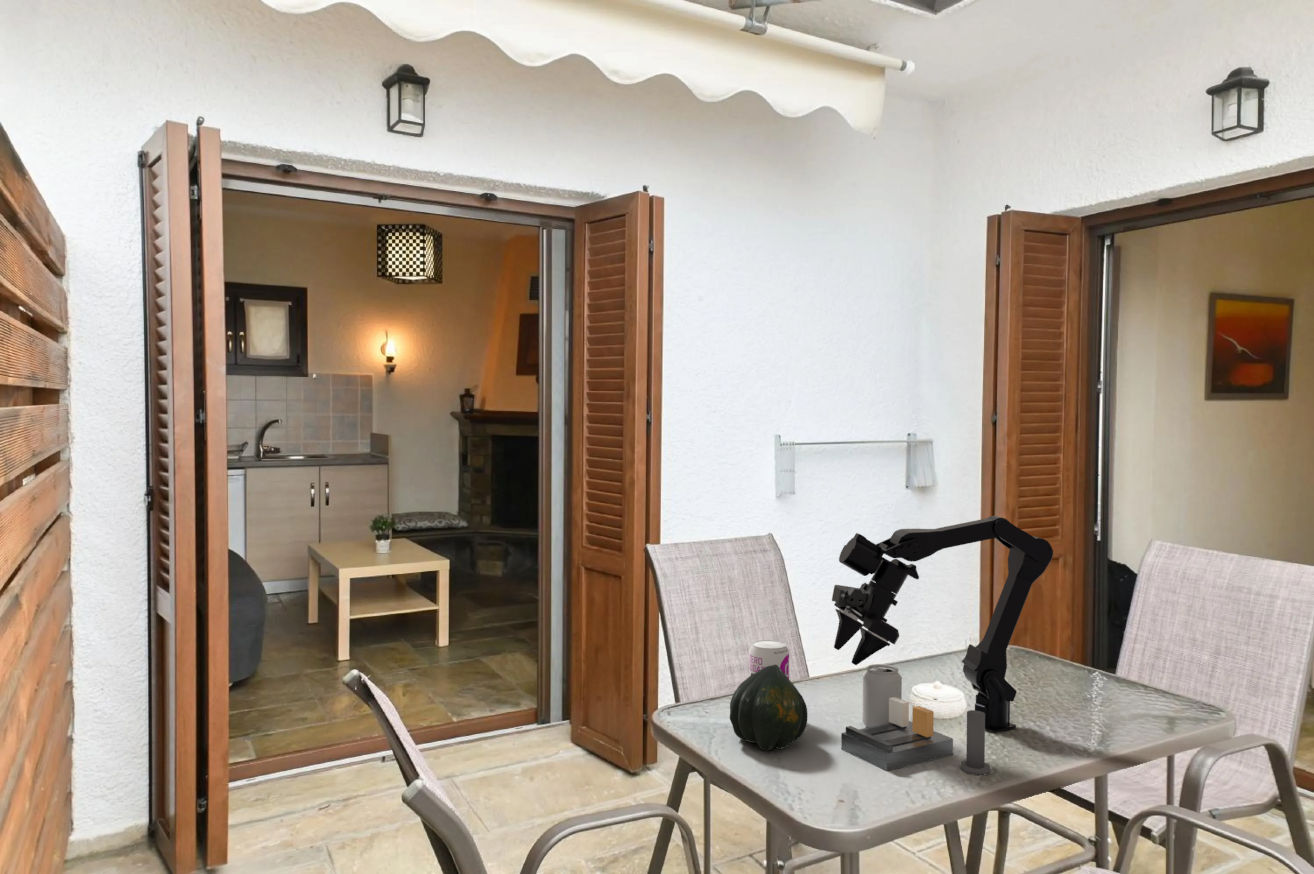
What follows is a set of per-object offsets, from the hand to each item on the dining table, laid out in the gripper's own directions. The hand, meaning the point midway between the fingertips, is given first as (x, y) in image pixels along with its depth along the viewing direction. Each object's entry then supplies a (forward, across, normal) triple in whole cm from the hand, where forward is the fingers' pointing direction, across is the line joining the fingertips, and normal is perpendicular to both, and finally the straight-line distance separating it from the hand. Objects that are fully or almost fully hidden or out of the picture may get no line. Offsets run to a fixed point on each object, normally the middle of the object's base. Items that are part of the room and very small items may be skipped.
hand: (844, 656), depth 180 cm
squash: (+21, +6, -8) cm, 23 cm away
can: (+9, +1, +14) cm, 17 cm away
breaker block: (+9, +14, +11) cm, 20 cm away
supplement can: (+19, -9, -3) cm, 22 cm away
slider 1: (+5, +9, +12) cm, 16 cm away
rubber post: (+4, +25, +19) cm, 32 cm away
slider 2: (+4, +15, +13) cm, 21 cm away
